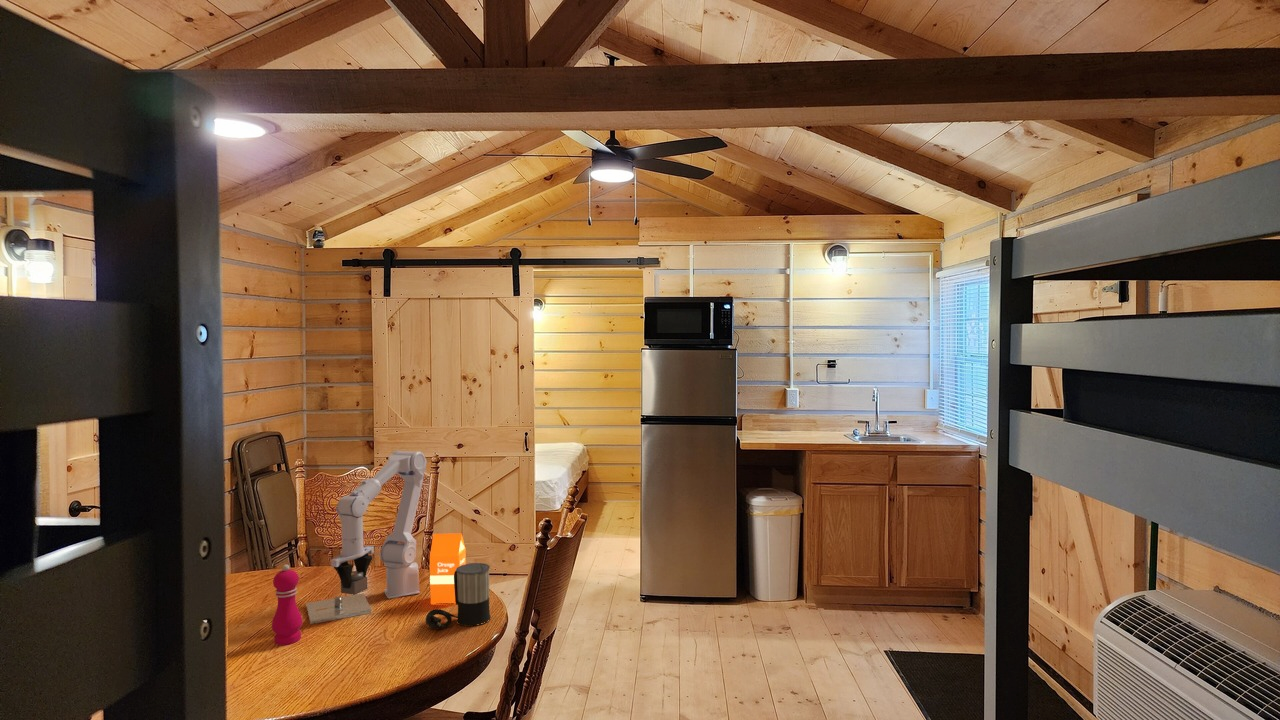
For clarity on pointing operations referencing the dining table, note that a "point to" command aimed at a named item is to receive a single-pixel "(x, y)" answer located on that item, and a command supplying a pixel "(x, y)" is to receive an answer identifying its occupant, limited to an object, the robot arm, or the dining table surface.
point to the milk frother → (467, 597)
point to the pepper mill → (286, 608)
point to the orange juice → (445, 566)
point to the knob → (356, 583)
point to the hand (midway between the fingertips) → (353, 584)
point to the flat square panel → (337, 608)
